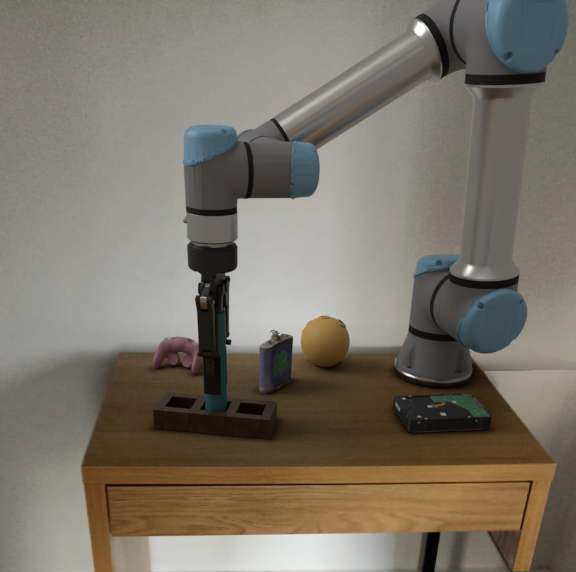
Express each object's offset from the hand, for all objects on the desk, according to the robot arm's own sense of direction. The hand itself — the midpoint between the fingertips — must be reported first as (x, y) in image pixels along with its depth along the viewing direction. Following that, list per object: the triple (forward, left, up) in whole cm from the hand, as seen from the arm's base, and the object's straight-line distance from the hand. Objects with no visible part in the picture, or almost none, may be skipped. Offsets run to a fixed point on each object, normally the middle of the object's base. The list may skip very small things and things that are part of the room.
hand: (215, 388), depth 124 cm
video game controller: (+13, -24, -7) cm, 28 cm away
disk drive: (-38, -10, -7) cm, 40 cm away
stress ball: (-15, -32, -7) cm, 36 cm away
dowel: (0, 0, -6) cm, 6 cm away
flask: (-7, -19, -7) cm, 21 cm away
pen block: (0, 0, -7) cm, 7 cm away
